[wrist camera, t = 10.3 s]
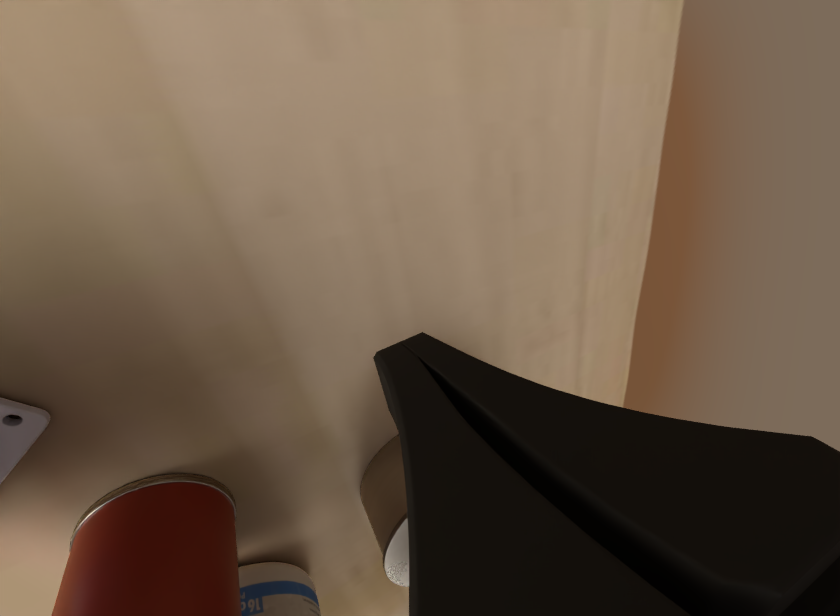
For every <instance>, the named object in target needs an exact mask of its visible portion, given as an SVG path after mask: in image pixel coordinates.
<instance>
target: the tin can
mask: <svg viewBox="0 0 840 616" xmlns="http://www.w3.org/2000/svg"><path fill="white" fill-rule="evenodd" d="M235 521H236V504H235V500H234V497H233V495H232V494H231V492H230V491H229V490H228V489H227V488H226V487H225V486H224V485H223V484H221V483H220V482H218V481H216V480H213V479H211V478H208V477H205V476H200V475H195V474H167V475H160V476H154V477H149V478H146V479H142V480H139V481H136V482H133V483H130V484H127V485H125V486H123V487H121V488H118V489H117V490H115V491H113V492H111V493H109V494H107V495H106V496H104V497H103V498H102V499H100V500H99V501H97V502H96V503H95V504H94V505H93V506H91V507H90V508H89V509H88V510H87V511H86V512H85V514H84V515H83V516H82V517H81V519H80V520H79V521H78V523H77V525H76V527H75V529H74V532H73V535H72V539H71V542H70V555H69V558H68V562H67V565H66V568H65V572H64V575H63V579H62V582H61V585H60V589H59V592H58V596H57V599H56V602H55V606H54V609H53V612H52V616H242V614H241V600H240V586H239V572H238V558H237V544H236V530H235Z"/></svg>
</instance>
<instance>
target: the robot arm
mask: <svg viewBox="0 0 840 616" xmlns="http://www.w3.org/2000/svg"><path fill="white" fill-rule="evenodd" d="M374 361H375V364H376V368H377V371H378V375H379V378H380V381H381V385H382V388H383V391H384V395H385V398H386V402H387V405H388V408H389V411H390V413H391V415H392V417H393V419H394V422H395V424H396V426H397V429H398V431H399V437H400V443H401V450H402V457H403V466H404V475H405V487H406V499H407V517H408V538H409V616H840V452H839V451H837V450H835V449H834V448H832V447H830V446H828V445H827V444H825V443H823V442H821V441H819V440H817V439H816V438H814V437H811V436H801V435H793V434H783V433H774V432H767V431H758V430H748V429H740V428H731V427H724V426H717V425H711V424H705V423H698V422H692V421H686V420H680V419H674V418H669V417H663V416H659V415H653V414H648V413H643V412H639V411H634V410H630V409H626V408H622V407H617V406H613V405H608V404H605V403H601V402H597V401H593V400H589V399H586V398H582V397H579V396H576V395H572V394H569V393H566V392H562V391H559V390H556V389H553V388H550V387H547V386H544V385H541V384H538V383H535V382H532V381H530V380H527V379H524V378H522V377H519V376H517V375H514V374H511V373H509V372H506V371H504V370H501V369H499V368H497V367H495V366H492V365H490V364H488V363H486V362H483V361H481V360H479V359H477V358H474V357H472V356H470V355H468V354H466V353H464V352H462V351H460V350H458V349H456V348H454V347H452V346H450V345H447V344H445V343H443V342H441V341H439V340H437V339H435V338H433V337H431V336H429V335H427V334H425V333H423V332H422V333H419V334H417V335H415V336H413V337H410V338H408V339H406V340H403V341H401V342H399V343H396V344H394V345H392V346H389V347H387V348H385V349H382V350H380V351H378V352H376V354H375V356H374ZM11 414H13V415H18V416H20V417H21V418H20V419H12V418H10V417H8V416H7V415H11ZM50 419H51V418H50V414H49V413H48V412H47V411H45V410H43V409H40V408H37V407H33V406H29V405H26V404H22V403H19V402H15V401H11V400H8V399H4V398H0V484H1V483H2V481H3V480H4V479H5V478H6V476H7V475H8V474H9V473H10V472H11V470H12V469H13V468H14V467H15V465H16V464H17V463H18V462H19V461H20V459H21V458H22V457H23V456H24V454H25V453H26V452H27V451H28V450H29V448H30V447H31V446H32V445H33V443H34V442H35V441H36V440H37V439H38V437H39V436H40V435H41V434H42V432H43V431H44V430H45V429H46V427H47V425H48V423H49V421H50Z"/></svg>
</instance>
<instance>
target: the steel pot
mask: <svg viewBox="0 0 840 616" xmlns="http://www.w3.org/2000/svg"><path fill="white" fill-rule="evenodd" d="M360 494H361V500H362V503H363V506H364V509H365V511H366V514H367V516H368V519H369V521H370V524H371V527H372V529H373V532H374V534H375V537H376V539H377V542H378V545H379V547H380V550H381V552H382V555H383V567H384V570H385V573H386V575H387V577H388V578H389V579H390V580H391V581H392V582H393V583H395V584H397V585H400V586H404V587H409V538H408V517H407V499H406V487H405V475H404V466H403V457H402V450H401V443H400V437H399V435H398V436H396V437H395V438H393V439H392V440H391V441H390V442H389V443H387V444H386V445H385V446H384V447H383V448H382V449H381V450H380V451H379V453H378V454H377V455H376V456H375V457H374V459H373V460H372V462H371V463H370V464H369V466H368V468H367V470H366V472H365V474H364V477H363V480H362V484H361V492H360Z"/></svg>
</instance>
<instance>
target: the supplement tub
mask: <svg viewBox="0 0 840 616" xmlns="http://www.w3.org/2000/svg"><path fill="white" fill-rule="evenodd" d="M238 572H239V586H240V600H241V614H242V616H321V613H320V608H319V603H318V599H317V595H316V590H315V586H314V584H313V581H312V579H311V578H310V576H309V575H308V574H307V573H306V572H305V571H304V570H302V569H301V568H299V567H297V566H294V565H292V564H287V563H280V562H265V563H257V564H251V565H246V566H242V567H239V568H238Z"/></svg>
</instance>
